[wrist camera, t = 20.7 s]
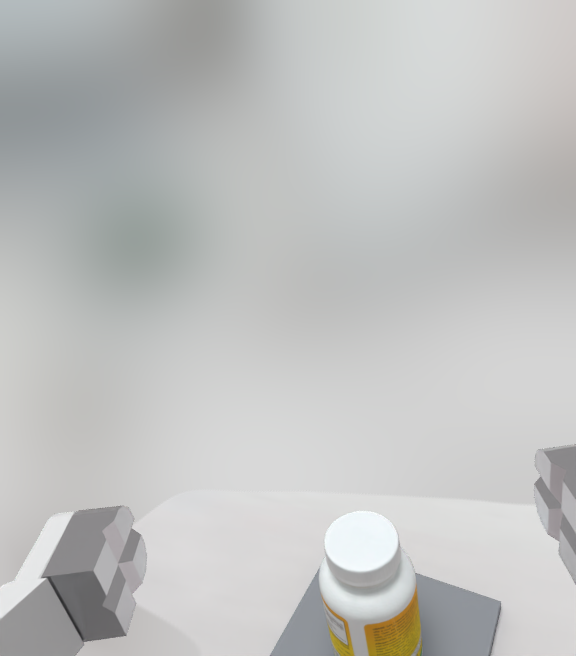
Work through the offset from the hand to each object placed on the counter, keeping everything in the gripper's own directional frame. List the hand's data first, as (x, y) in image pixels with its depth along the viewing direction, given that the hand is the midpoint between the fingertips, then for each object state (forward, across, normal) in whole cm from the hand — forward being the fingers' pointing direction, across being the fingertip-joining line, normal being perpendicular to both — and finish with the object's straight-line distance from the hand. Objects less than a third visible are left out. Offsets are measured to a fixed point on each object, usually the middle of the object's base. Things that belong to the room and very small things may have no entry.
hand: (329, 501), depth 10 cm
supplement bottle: (+12, 0, +24) cm, 27 cm away
